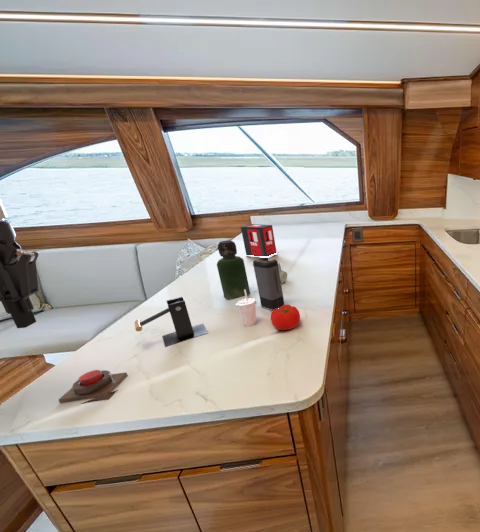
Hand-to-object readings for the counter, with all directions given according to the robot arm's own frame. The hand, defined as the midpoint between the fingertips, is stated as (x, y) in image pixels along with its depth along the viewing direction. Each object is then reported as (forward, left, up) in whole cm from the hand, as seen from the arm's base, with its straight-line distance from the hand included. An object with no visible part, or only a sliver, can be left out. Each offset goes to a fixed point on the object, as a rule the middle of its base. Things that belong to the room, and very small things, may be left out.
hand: (27, 324), depth 67 cm
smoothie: (+37, +29, -22) cm, 52 cm away
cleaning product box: (+21, +125, -22) cm, 129 cm away
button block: (+6, +2, -22) cm, 23 cm away
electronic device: (+42, +44, -22) cm, 65 cm away
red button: (+6, +2, -18) cm, 19 cm away
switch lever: (+13, +24, -13) cm, 30 cm away
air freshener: (+39, +72, -22) cm, 85 cm away
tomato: (+50, +26, -22) cm, 60 cm away
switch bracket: (+17, +26, -22) cm, 38 cm away
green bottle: (+24, +60, -22) cm, 68 cm away
